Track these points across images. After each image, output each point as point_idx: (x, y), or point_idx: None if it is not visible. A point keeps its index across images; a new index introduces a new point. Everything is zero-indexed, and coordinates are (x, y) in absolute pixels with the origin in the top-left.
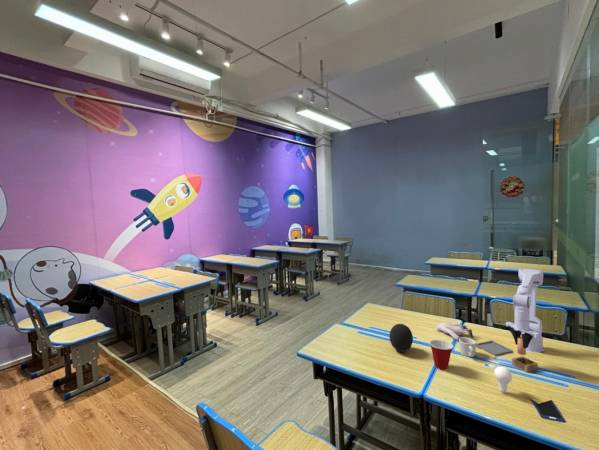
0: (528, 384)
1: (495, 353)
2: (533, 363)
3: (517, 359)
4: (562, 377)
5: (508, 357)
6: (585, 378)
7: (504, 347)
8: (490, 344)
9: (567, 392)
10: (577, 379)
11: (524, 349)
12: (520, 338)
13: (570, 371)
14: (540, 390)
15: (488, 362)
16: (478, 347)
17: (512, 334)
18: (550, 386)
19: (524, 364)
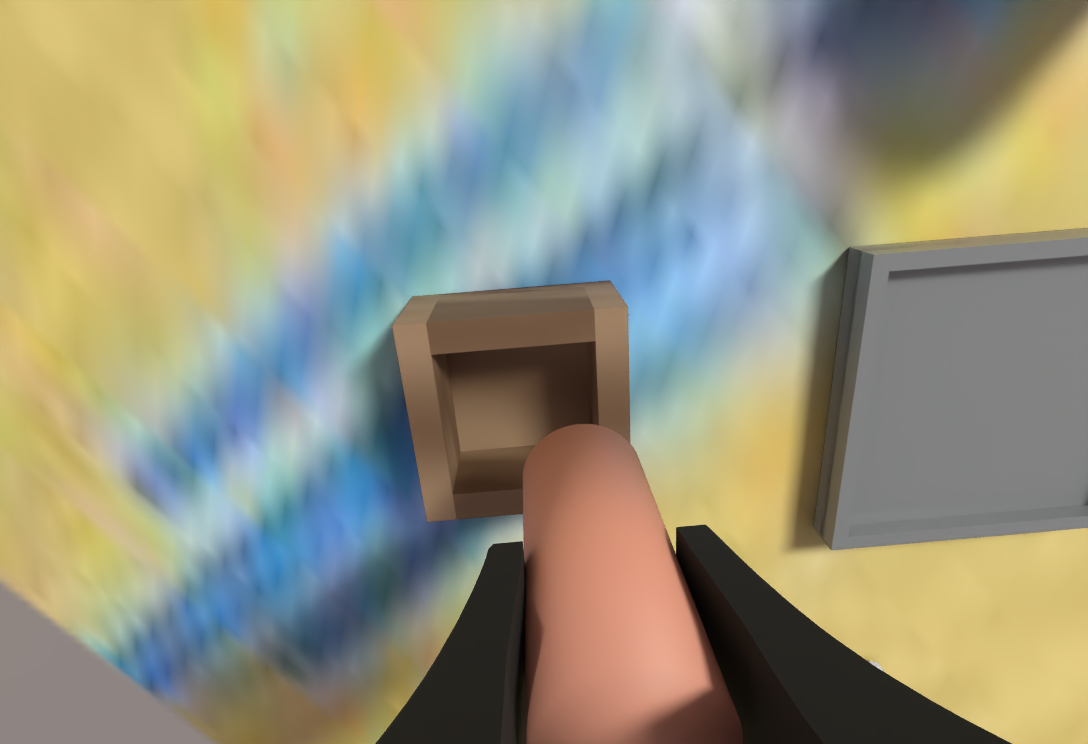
0: (178, 80)
1: (886, 283)
2: (442, 477)
3: (596, 376)
4: (289, 578)
5: (767, 406)
6: (254, 723)
7: (927, 525)
8: (1074, 440)
9: (15, 389)
10: (244, 660)
11: (525, 537)
12: (643, 720)
13: (372, 712)
14: (37, 112)
15: (793, 8)
16: None
17: (899, 695)
18: (130, 320)
19: (444, 341)
